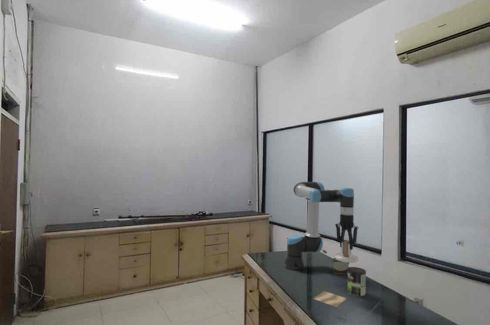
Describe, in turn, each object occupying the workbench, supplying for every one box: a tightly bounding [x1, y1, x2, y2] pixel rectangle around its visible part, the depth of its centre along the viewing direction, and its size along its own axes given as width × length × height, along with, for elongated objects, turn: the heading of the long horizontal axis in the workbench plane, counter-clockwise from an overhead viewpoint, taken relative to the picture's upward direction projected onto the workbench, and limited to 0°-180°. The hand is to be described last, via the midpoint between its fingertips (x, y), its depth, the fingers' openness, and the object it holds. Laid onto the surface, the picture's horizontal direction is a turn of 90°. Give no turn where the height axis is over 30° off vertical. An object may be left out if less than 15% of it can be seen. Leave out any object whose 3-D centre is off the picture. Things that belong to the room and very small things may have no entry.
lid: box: [334, 239, 359, 264], centre depth 166 cm, size 13×13×10 cm
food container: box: [331, 257, 350, 275], centre depth 204 cm, size 12×6×10 cm, turn 84°
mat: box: [312, 290, 348, 308], centre depth 160 cm, size 14×14×1 cm
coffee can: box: [347, 266, 367, 297], centre depth 169 cm, size 10×10×14 cm
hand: (346, 253), depth 166 cm, fingers closed on lid, 3 cm apart
